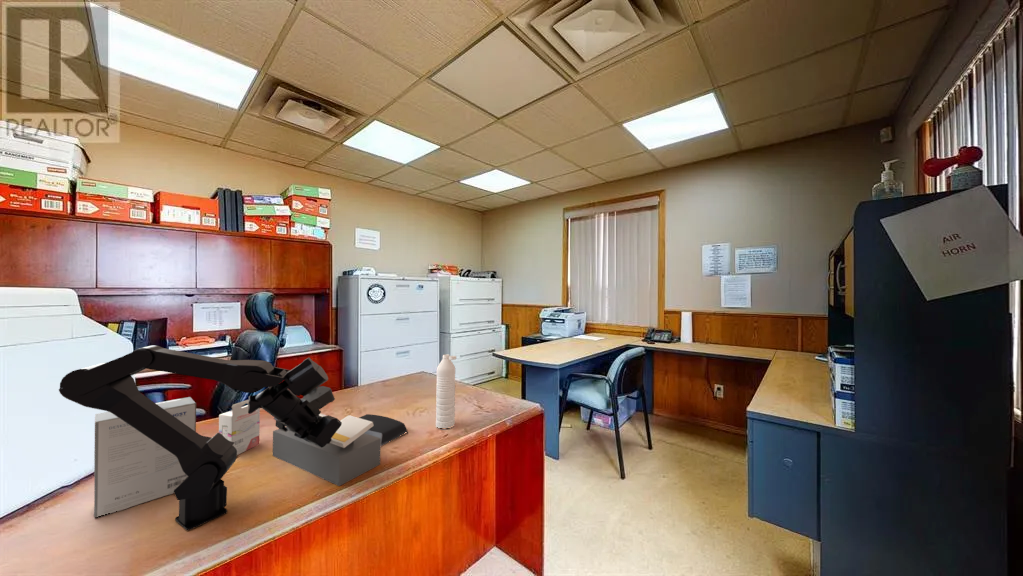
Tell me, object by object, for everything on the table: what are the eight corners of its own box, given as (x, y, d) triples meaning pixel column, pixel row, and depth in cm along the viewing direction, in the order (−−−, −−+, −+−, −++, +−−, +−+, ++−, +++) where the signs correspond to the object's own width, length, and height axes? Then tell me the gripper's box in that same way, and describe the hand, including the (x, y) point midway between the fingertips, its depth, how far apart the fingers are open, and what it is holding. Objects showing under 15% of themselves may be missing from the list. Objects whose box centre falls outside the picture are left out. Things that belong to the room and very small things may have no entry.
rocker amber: (344, 448, 84) (342, 443, 83) (319, 439, 89) (318, 434, 88) (373, 425, 91) (372, 421, 91) (349, 418, 96) (348, 414, 96)
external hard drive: (378, 449, 102) (378, 435, 102) (335, 436, 111) (336, 423, 111) (409, 433, 113) (409, 420, 114) (368, 422, 122) (369, 411, 122)
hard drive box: (190, 475, 85) (192, 396, 86) (196, 487, 81) (198, 402, 81) (92, 505, 73) (95, 412, 74) (92, 520, 69) (94, 421, 69)
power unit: (339, 486, 81) (339, 448, 82) (272, 455, 96) (273, 423, 96) (380, 464, 92) (380, 430, 92) (314, 439, 106) (315, 411, 107)
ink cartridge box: (246, 443, 104) (247, 394, 104) (259, 444, 103) (261, 396, 103) (217, 456, 95) (218, 403, 96) (231, 458, 94) (232, 405, 95)
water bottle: (432, 425, 119) (433, 354, 119) (448, 421, 123) (449, 352, 124) (445, 433, 112) (446, 358, 113) (461, 428, 117) (462, 355, 117)
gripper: (336, 383, 77) (374, 420, 86) (293, 372, 87) (331, 406, 96) (297, 428, 70) (343, 463, 79) (254, 410, 79) (299, 444, 88)
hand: (329, 441), depth 86 cm, fingers closed, pressing on rocker amber
